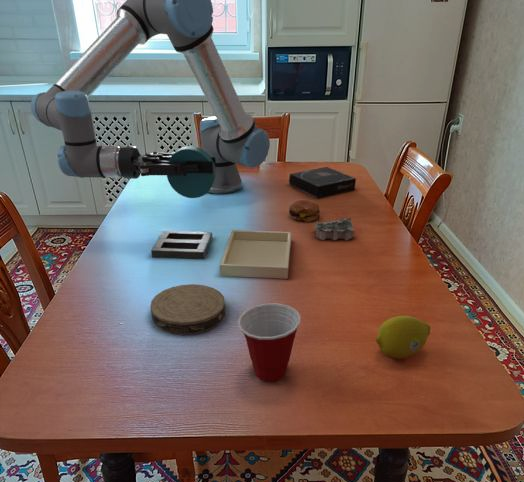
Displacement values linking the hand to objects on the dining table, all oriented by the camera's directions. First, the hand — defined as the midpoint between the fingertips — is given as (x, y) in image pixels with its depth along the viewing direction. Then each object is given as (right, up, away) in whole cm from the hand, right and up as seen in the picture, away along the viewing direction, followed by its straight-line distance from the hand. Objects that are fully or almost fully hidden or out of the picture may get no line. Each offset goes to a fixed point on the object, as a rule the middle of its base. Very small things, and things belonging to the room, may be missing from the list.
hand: (213, 164), depth 121 cm
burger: (+25, -5, +31) cm, 40 cm away
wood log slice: (-4, -38, -14) cm, 41 cm away
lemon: (+39, -47, -26) cm, 66 cm away
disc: (-6, -1, +2) cm, 6 cm away
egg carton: (+33, -13, +19) cm, 40 cm away
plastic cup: (+13, -50, -31) cm, 60 cm away
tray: (+11, -22, +8) cm, 25 cm away
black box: (+33, +12, +53) cm, 64 cm away
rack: (-10, -18, +13) cm, 24 cm away
